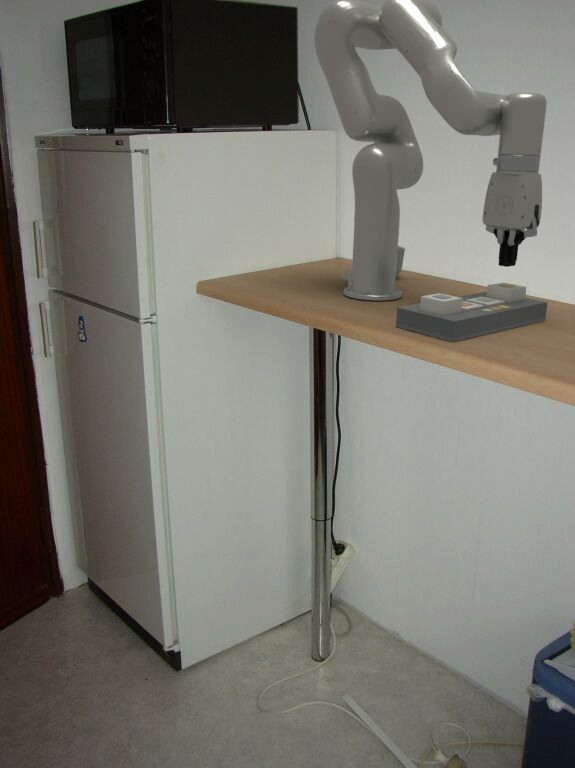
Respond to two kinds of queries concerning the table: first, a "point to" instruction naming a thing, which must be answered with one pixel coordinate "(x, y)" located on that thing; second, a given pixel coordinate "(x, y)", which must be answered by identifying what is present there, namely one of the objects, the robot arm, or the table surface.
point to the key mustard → (506, 292)
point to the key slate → (441, 304)
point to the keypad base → (471, 319)
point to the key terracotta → (471, 306)
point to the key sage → (486, 301)
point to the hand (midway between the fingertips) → (506, 265)
